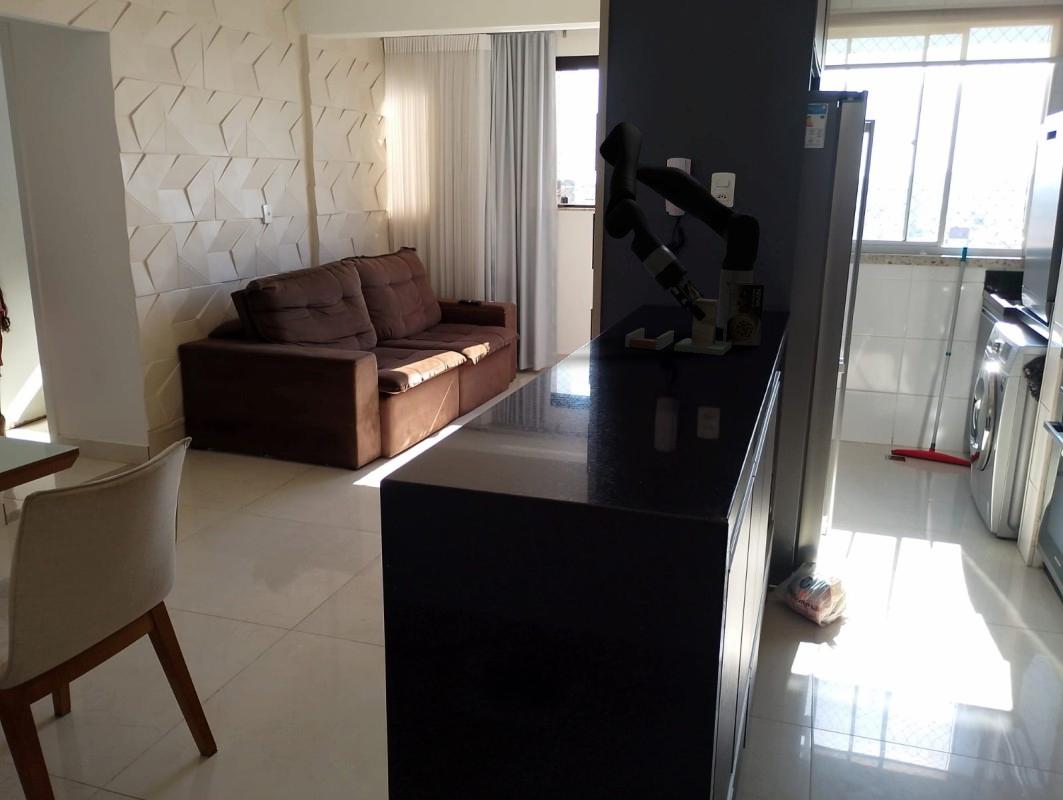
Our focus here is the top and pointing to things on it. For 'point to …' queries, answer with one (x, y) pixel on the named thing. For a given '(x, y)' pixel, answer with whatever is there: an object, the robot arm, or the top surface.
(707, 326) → the birch block
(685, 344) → the pad
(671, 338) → the grey frame
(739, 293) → the coffee box
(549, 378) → the top surface
